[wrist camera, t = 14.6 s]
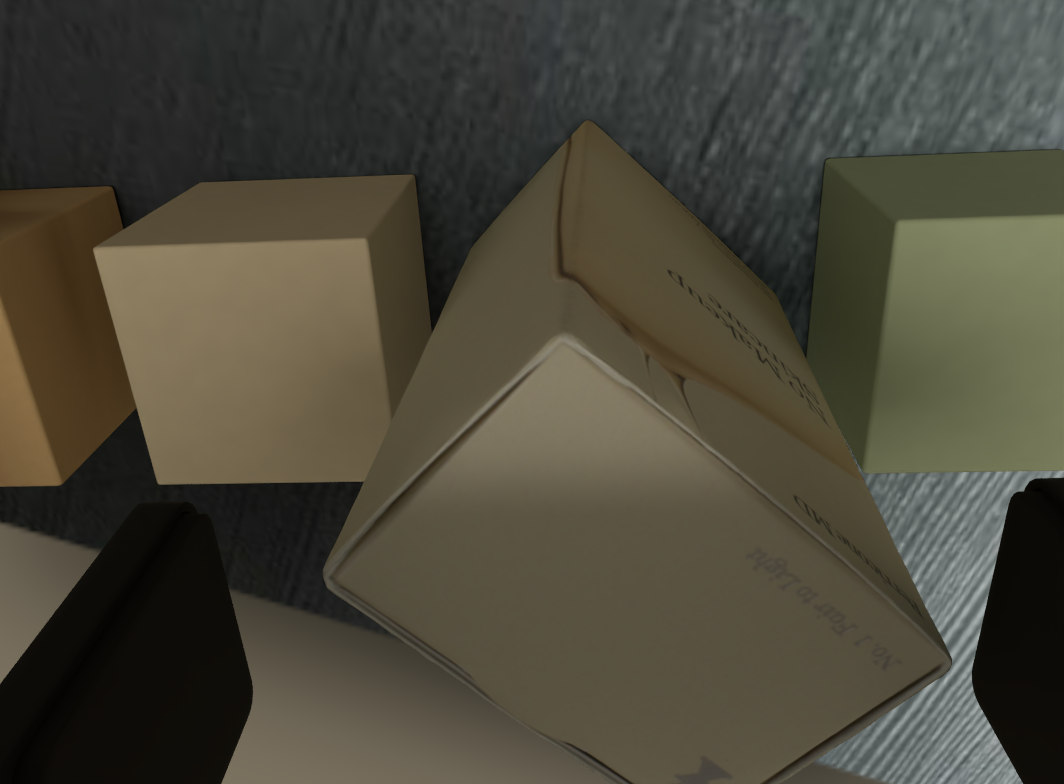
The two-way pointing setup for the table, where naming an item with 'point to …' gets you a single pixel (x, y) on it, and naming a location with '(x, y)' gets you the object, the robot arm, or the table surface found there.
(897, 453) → the block
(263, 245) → the block
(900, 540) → the table surface
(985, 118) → the table surface
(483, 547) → the cosmetic box
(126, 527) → the robot arm
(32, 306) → the block
